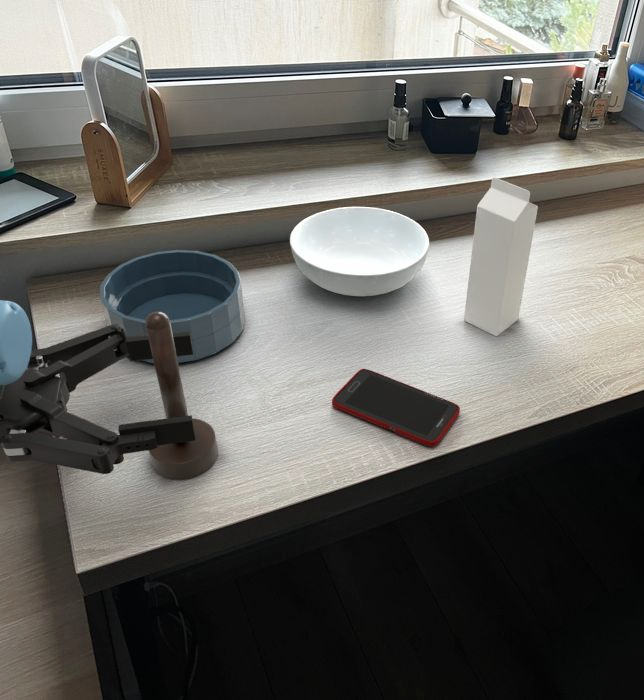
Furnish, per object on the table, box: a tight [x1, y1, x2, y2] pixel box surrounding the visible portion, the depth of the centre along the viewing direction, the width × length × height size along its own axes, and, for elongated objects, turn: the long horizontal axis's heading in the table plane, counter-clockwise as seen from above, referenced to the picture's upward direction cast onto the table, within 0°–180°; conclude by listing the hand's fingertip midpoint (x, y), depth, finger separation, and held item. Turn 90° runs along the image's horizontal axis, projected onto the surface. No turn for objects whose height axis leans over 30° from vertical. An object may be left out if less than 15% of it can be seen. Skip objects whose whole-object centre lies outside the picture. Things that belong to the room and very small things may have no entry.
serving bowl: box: [289, 206, 430, 297], centre depth 111 cm, size 21×21×7 cm
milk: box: [463, 176, 539, 337], centre depth 101 cm, size 6×6×22 cm
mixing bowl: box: [99, 249, 246, 364], centre depth 97 cm, size 17×17×7 cm
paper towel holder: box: [145, 312, 219, 481], centre depth 75 cm, size 7×7×20 cm
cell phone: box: [331, 368, 461, 448], centre depth 90 cm, size 8×15×1 cm, turn 65°
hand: (193, 382), depth 76 cm, fingers open, 13 cm apart
